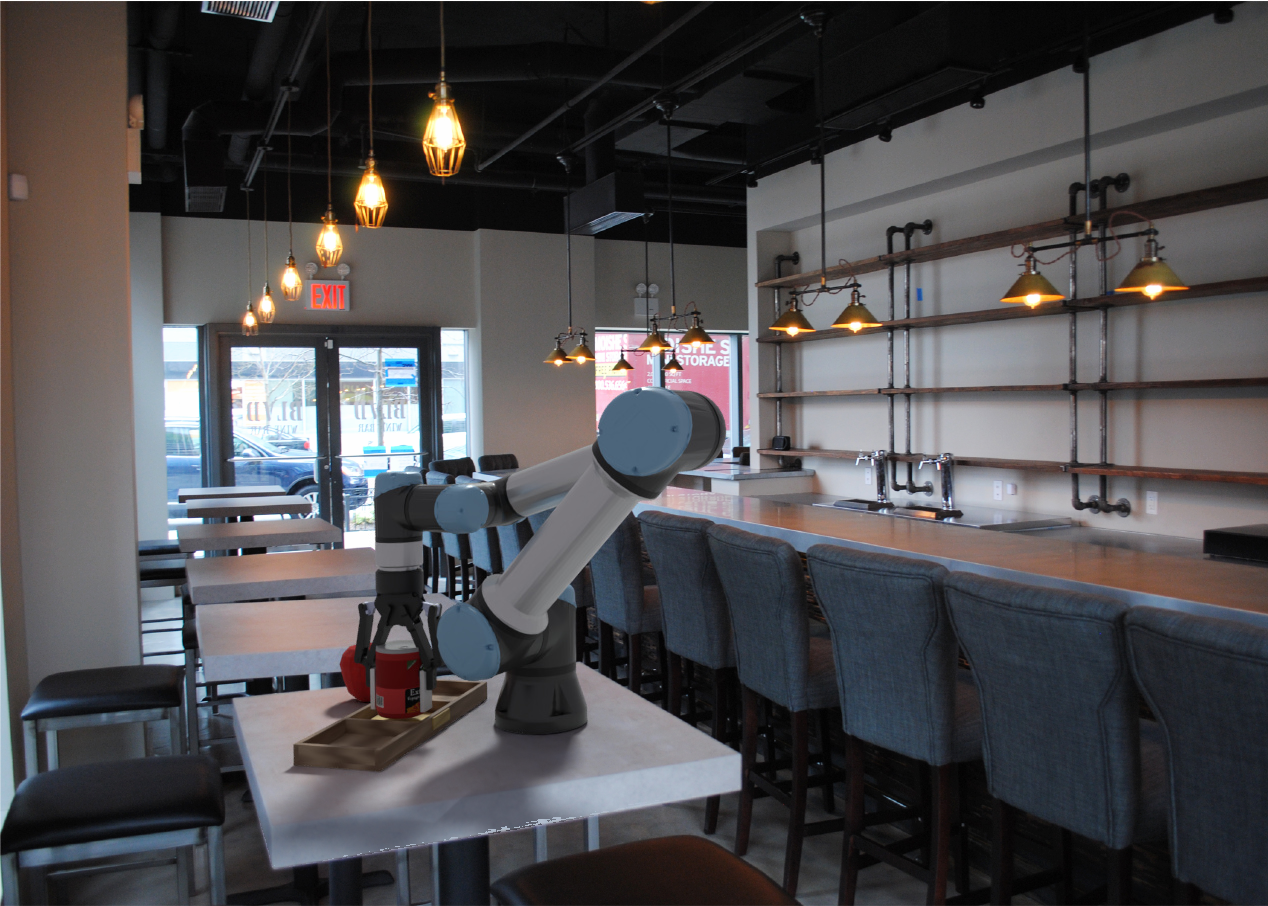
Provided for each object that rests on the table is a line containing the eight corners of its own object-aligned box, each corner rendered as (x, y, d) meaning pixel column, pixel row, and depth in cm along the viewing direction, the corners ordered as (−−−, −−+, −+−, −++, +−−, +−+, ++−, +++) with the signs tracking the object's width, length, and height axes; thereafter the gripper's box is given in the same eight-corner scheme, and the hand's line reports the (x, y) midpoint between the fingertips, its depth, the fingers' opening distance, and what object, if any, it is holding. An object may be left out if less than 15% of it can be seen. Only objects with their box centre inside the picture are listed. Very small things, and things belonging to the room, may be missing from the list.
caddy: (488, 698, 172) (488, 681, 172) (382, 771, 134) (381, 750, 134) (417, 694, 175) (417, 678, 175) (293, 765, 137) (293, 744, 137)
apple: (388, 689, 179) (388, 631, 179) (404, 701, 171) (403, 640, 171) (334, 697, 174) (334, 637, 174) (348, 709, 166) (347, 646, 166)
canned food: (414, 720, 150) (413, 650, 150) (367, 718, 151) (366, 649, 151) (434, 707, 157) (433, 640, 157) (389, 705, 159) (388, 639, 159)
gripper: (469, 565, 155) (471, 705, 156) (353, 563, 160) (355, 699, 160) (449, 571, 148) (451, 718, 148) (328, 569, 153) (330, 711, 153)
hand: (401, 708), depth 154 cm, fingers closed on canned food, 8 cm apart
